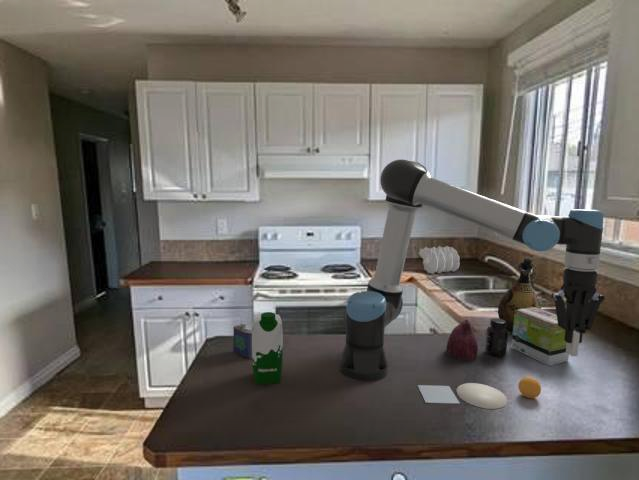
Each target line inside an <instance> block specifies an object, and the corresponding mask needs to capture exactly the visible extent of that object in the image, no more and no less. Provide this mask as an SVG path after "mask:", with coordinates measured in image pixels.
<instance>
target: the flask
mask: <svg viewBox="0 0 639 480" xmlns="http://www.w3.org/2000/svg"><path fill="white" fill-rule="evenodd" d="M246 326H247V325H246V323H244V324H243V323H240V324H239V325H237V324H236V325H234V326H233V342H232V343H233V349H232V351H233V354H234V355H236V356H238V357H242V358H244V359H245V360H252V329H247V328H246Z"/></svg>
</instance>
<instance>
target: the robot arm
mask: <svg viewBox="0 0 639 480" xmlns="http://www.w3.org/2000/svg"><path fill="white" fill-rule="evenodd" d="M379 181H380V186H381V189H382V191H383V192H384V194H385V203H386V205H387V206H388V209H387V215H386V219H385V223H384V229H383V234H382V239H381V244H380V248H379V251H378V252H379V253H378V257H377V262H376V268H375V271H374V275H373V276H374V277H373V278H371V279H370V280H368V283H367V287H366V290H362V291H357V292H355V293H352V294H351V295H350V296H349V297H348V299H347V305H346V308H345V309H346V310H345V311H346V312H345V313H346V317H345V318H346V322H345V326H346V328H345V345H344V347H343V350H342V353H341V354H340V357H339V361H338V363H339V364H338V366H339V367H338V369H339V371H340V372H341V373H342V374H343V375H344V376H346V377H347V378H351V379H354V380H359V381H368V382H369V381H377V380H381V379H383V378H385V377H386V376H387V375H388V374H389V361H388V358H387V354H386V351H385V347H384V346H385V345H384V344H385V343H384V342H385V328H386V327H387V326H389V324H391V323H392V322H393V321H395V319H397V318H398V317H399V316H400V314H401V312H402V309H403V307H404V300H403V292H404V287H403V286H402V283H401V279H402V276H403V271H404V268H405V267H404V266H405V262H406V259H407V258H406V257H407V253H408V248H409V244H410V240H411V235H412V231H413V226H414V222H415V218H416V215H417V214H416V213H417V212H419V211H420V210H421V209H422V208H423V206H425V207H428V208H431V209H433V210H436V211H439V212H441V213H444V214H446V215H449V216H451V217H454V218H456V219H460V220H462V221H464V222H466V223H470V224H472V225H474V226H476V227H480V228H483V229H484V230H488V231H490V232H492V233H495V234H497V235H501V236H503V237H506V238H508V239H510V240H513V241H515V242H517V243H520V244H523V245H525V246H526V247H528V248H529V249H531V250H532V251H536V252H546V251H549V250H551V249H553V248H554V247H555V246H557V245H561V246H562V245H564V246H565V255H564V261H563V262H564V264H563V265H564V266H565V267H564V268H563V271H562V273H563V274H562V283H563V284H562V286H561V288H560V290H559V291H558V292H552V293H551V298H552V299H553V301H554V307H555V314H556V315H557V321H558V326H559V327H561V328H563V329H564V330H565V338H564V340H565V341H566V342H567V345H566V352H567V353H568V354H569V356H571V357H578V355H579V345H580V344H582V341H583V335H584V334H586V333H587V331H591V330H592V328H593V325H594V323H595V320H596V317H597V314H598V311H599V309H600V306H601V304H602V302H604V300H605V298H606V297H605V295H602V294H600V293H598V292H597V288H596V285H597V283H598V276H599V272H598V270H599V264H600V259H601V258H600V255H601V248H602V239H603V233H604V217H605V216H604V213H603V212H602V211H601V210H598V209H585V208H584V209H583V208H582V209H581V208H580V209H578V208H577V209H576V208H575V209H571V210H570V211H569V212H568V215H567V216H554V215H542V214H541V215H539V214H535V213H530V212H527V211H525V210H522V209H519V208H517V207H514V206H511V205H509V204H506V203H502V202H500V201H497V200H495V199H491V198H488V197H486V196H483V195H480V194H478V193H474V192H473V191H469V190H467V189H464V188H462V187H458V186H456V185H453V184H450V183H447V182H444V181H441V180H439V179H436V178H433V177H431V174H430V171H429V170H428V169H427V167H425V166H424V165H423V164H421V163H420V162H418V161H415V160H414V161H410V160H408V159H396V160H392V161H390V162H389V163H387V165H385V166H384V168H383V169H382V171H381V174H380V180H379ZM564 300H565V301H564Z"/></svg>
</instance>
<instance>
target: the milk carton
mask: <svg viewBox="0 0 639 480" xmlns="http://www.w3.org/2000/svg"><path fill="white" fill-rule="evenodd" d="M252 319H253V320H252V324H251V325H252V326H251V331H252V359H251V363H252V371H253V376H254V380H255V382H254V383H255V385H257V386H258V385H266V384H267V385H268V384H279V383H281V378H282V371H283V355H284V354H283V349H284V348H283V347H284V345H283V343H284V342H283V339H284V338H283V337H284V335H283V334H284V333H283V328H284V327H283V322H282V318H281V316H280V314H276V313H275V312H271V311H267V312H262V313H261V314H259V315H258V314H257V315H253V317H252Z"/></svg>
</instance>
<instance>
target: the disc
mask: <svg viewBox="0 0 639 480" xmlns="http://www.w3.org/2000/svg"><path fill="white" fill-rule="evenodd" d="M456 394H457V396H458V397H459V398H460V400H462V401H464V402H465V403H467V404H469V405H471V406H474V407H477V408H481V409H487V410H496V409H502V408H505V406H507V404H508V398H507V396H506V395H505V394H504V393H503V392H502V391H501V390H499V389H497V388H494V387H492V386H490V385H486V384H483V383H477V382H466V383H463V384H460V385H459V386H457V388H456Z"/></svg>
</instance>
